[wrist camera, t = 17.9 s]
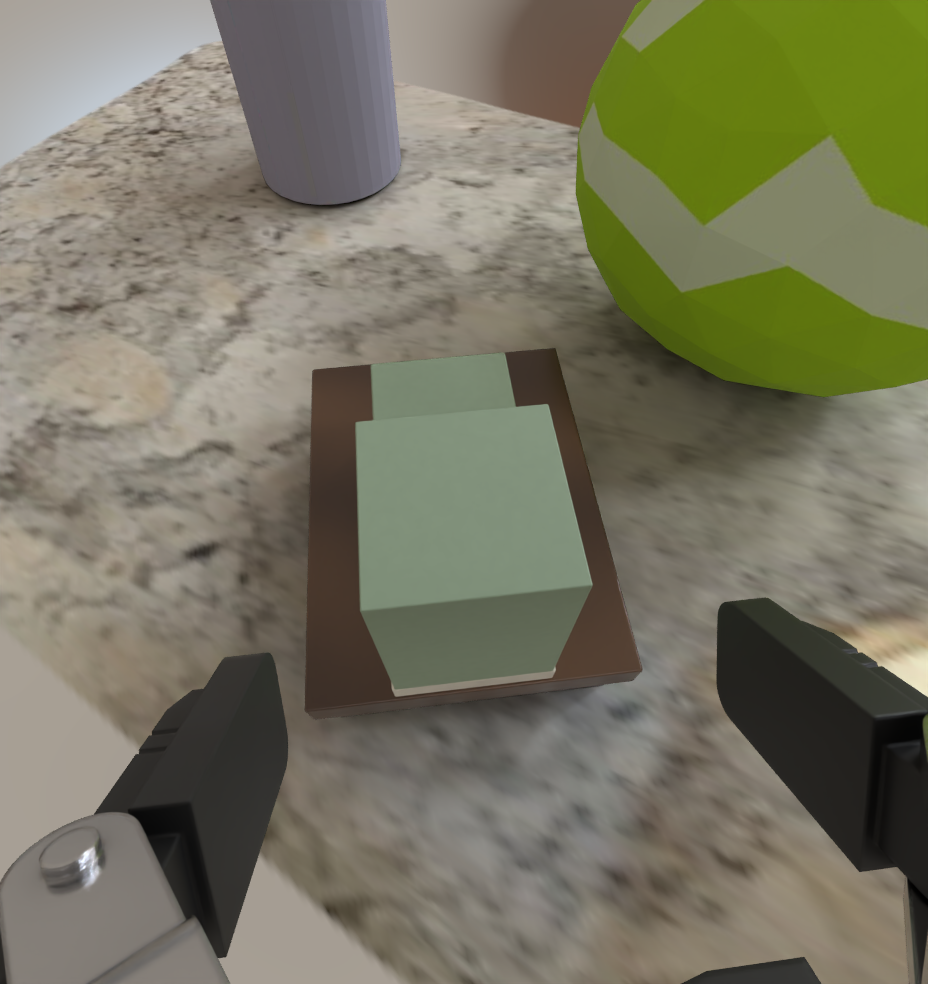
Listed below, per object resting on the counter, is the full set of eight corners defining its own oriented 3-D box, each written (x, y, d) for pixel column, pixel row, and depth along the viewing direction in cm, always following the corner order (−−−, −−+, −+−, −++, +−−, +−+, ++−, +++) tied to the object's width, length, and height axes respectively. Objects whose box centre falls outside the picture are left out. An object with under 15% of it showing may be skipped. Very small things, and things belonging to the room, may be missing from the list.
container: (237, 165, 45) (146, -109, 32) (348, 117, 49) (306, -147, 36) (314, 227, 41) (245, -57, 28) (429, 170, 44) (414, -106, 32)
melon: (951, 581, 27) (1775, 118, 10) (492, 359, 34) (516, -128, 17) (1019, 324, 36) (1526, -162, 19) (640, 190, 43) (753, -247, 26)
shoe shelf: (328, 420, 32) (311, 369, 29) (546, 399, 33) (555, 347, 29) (327, 732, 24) (303, 711, 20) (619, 696, 25) (643, 670, 21)
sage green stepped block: (552, 678, 21) (597, 585, 14) (394, 697, 21) (355, 612, 13) (502, 414, 27) (514, 254, 20) (380, 425, 27) (348, 267, 20)
